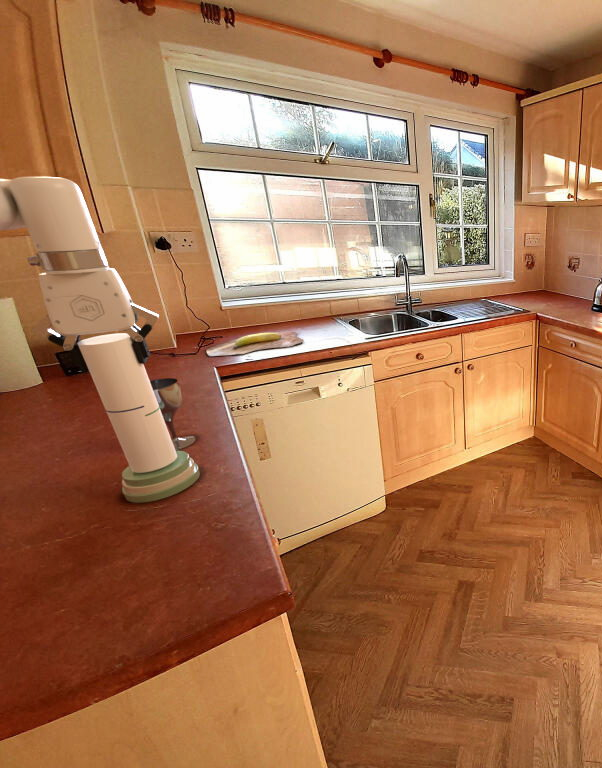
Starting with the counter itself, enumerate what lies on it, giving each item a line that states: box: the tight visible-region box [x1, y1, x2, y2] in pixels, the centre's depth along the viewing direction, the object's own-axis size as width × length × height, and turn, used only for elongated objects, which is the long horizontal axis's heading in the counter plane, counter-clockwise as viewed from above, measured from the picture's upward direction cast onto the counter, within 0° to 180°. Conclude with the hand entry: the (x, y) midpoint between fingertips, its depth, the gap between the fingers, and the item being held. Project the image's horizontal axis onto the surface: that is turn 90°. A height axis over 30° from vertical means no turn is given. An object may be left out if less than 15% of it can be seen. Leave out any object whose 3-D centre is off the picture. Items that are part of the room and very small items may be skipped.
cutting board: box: [205, 331, 305, 357], centre depth 174 cm, size 35×27×4 cm
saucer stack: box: [121, 450, 201, 504], centre depth 83 cm, size 12×12×4 cm
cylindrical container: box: [77, 332, 177, 473], centre depth 78 cm, size 7×7×25 cm
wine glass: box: [149, 377, 197, 451], centre depth 96 cm, size 8×8×15 cm
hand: (116, 364), depth 75 cm, fingers closed on cylindrical container, 7 cm apart
